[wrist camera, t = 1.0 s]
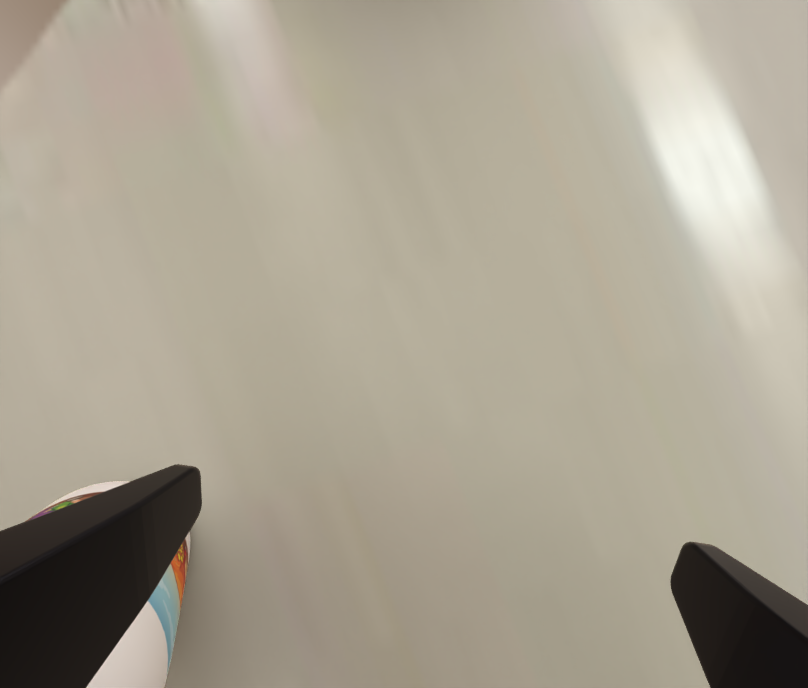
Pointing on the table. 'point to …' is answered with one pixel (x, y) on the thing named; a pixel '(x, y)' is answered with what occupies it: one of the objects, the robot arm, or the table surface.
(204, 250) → the table surface
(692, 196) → the table surface
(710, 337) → the table surface
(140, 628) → the milk bottle
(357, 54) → the table surface
